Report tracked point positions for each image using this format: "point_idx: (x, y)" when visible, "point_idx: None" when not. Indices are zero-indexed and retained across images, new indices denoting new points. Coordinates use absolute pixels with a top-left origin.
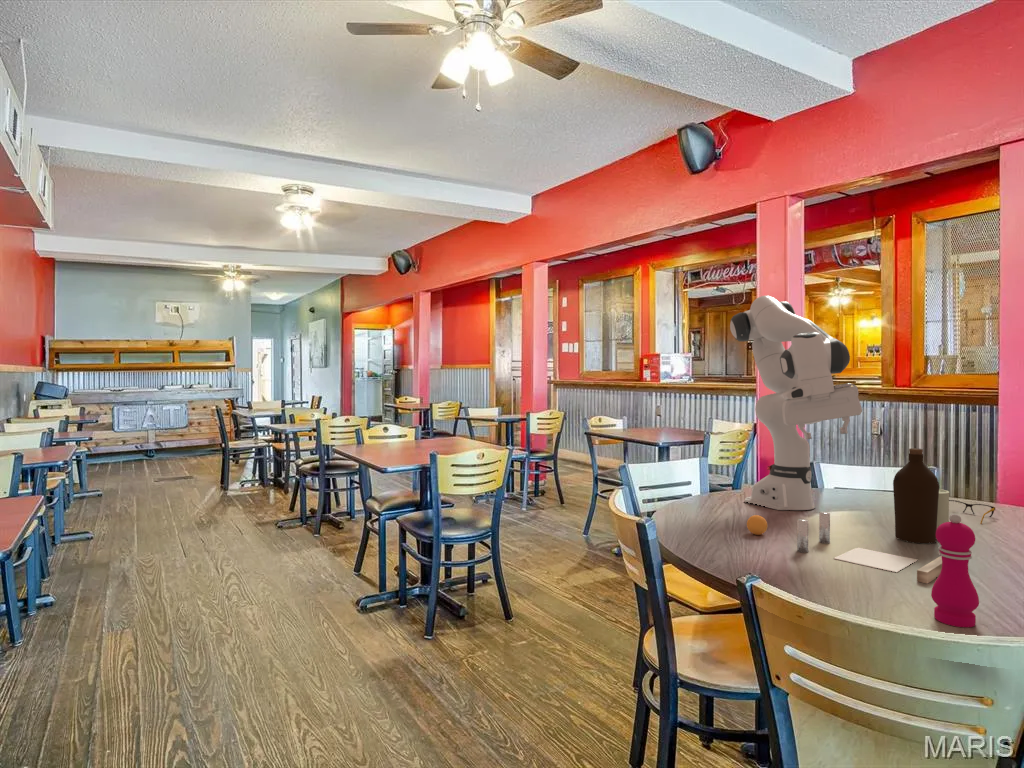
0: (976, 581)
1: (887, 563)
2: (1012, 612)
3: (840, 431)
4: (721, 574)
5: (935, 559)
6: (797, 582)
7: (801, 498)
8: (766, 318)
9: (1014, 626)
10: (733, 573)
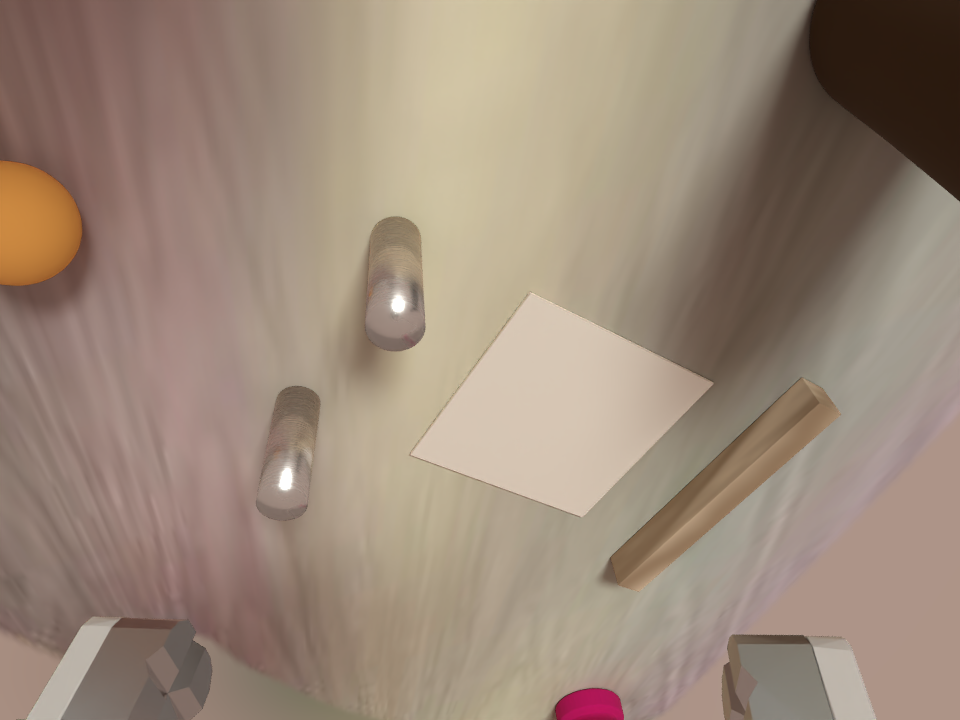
0: (778, 511)
1: (584, 453)
2: (725, 647)
3: (739, 684)
4: None
5: (729, 486)
6: (297, 645)
7: None
8: None
9: (684, 693)
10: None
